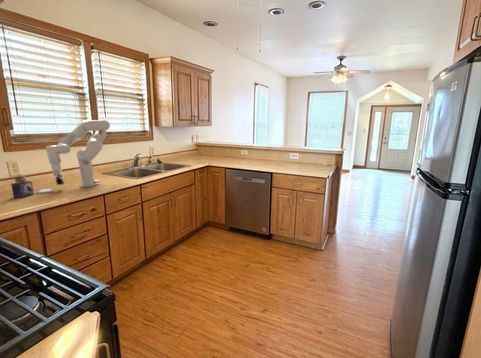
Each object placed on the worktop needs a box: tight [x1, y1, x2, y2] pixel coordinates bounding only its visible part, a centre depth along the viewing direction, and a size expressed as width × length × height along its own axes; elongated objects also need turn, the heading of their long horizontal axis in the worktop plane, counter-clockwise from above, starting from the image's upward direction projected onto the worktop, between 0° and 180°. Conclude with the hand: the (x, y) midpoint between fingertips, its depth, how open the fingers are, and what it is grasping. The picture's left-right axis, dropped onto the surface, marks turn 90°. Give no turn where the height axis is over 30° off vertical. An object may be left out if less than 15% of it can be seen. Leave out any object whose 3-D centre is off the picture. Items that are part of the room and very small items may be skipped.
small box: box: [10, 180, 35, 199], centre depth 193 cm, size 11×6×10 cm, turn 165°
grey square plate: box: [36, 188, 55, 195], centre depth 205 cm, size 10×10×1 cm
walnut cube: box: [14, 174, 27, 184], centre depth 191 cm, size 5×5×5 cm
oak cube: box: [55, 176, 66, 186], centre depth 209 cm, size 5×5×5 cm
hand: (60, 183), depth 209 cm, fingers closed on oak cube, 5 cm apart
